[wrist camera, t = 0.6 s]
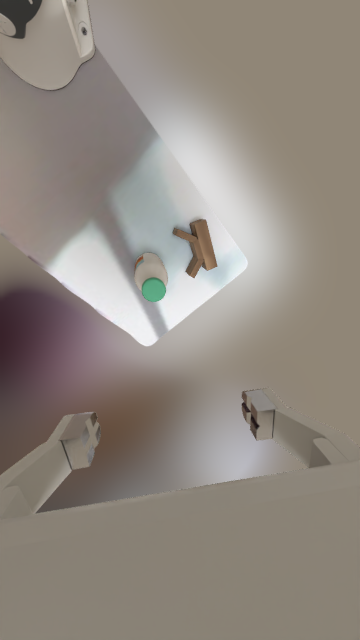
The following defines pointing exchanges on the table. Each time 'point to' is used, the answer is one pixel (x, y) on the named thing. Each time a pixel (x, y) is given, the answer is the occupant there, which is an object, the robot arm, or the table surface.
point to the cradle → (199, 247)
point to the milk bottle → (151, 276)
